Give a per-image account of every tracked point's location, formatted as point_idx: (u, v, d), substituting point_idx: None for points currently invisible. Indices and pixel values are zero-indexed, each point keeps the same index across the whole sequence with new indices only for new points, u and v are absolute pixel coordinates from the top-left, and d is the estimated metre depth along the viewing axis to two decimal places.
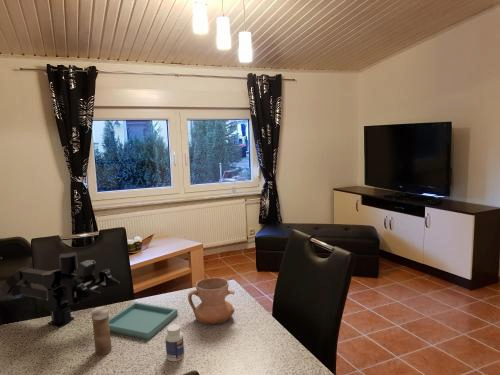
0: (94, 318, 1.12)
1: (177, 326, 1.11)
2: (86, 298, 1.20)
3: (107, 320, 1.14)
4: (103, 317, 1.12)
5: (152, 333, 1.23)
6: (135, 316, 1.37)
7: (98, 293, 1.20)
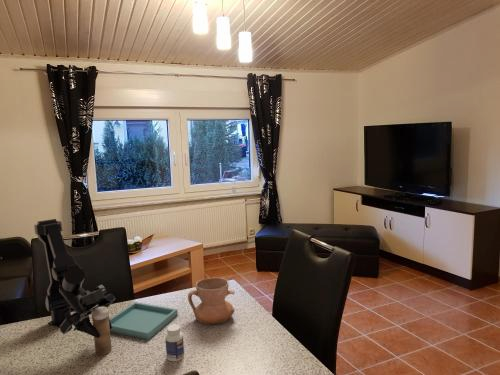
0: (94, 318, 1.12)
1: (177, 326, 1.11)
2: (84, 331, 1.12)
3: (107, 320, 1.14)
4: (103, 317, 1.12)
5: (152, 333, 1.23)
6: (135, 316, 1.37)
7: (98, 336, 1.12)
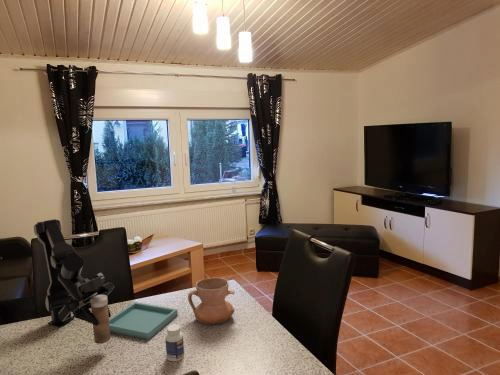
0: (93, 306, 1.11)
1: (177, 326, 1.11)
2: (82, 318, 1.11)
3: (106, 308, 1.13)
4: (102, 304, 1.11)
5: (152, 333, 1.23)
6: (135, 316, 1.37)
7: (96, 323, 1.11)
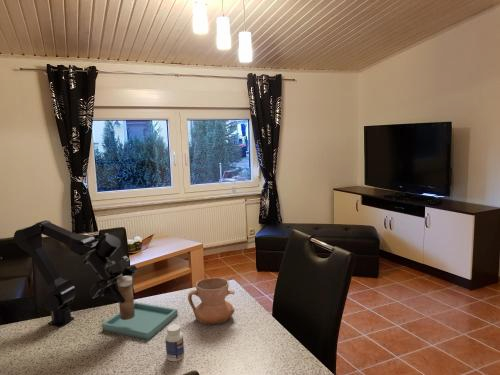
0: (120, 285, 1.22)
1: (177, 326, 1.11)
2: (110, 296, 1.22)
3: (131, 287, 1.24)
4: (127, 284, 1.22)
5: (152, 333, 1.23)
6: (135, 316, 1.37)
7: (123, 301, 1.22)
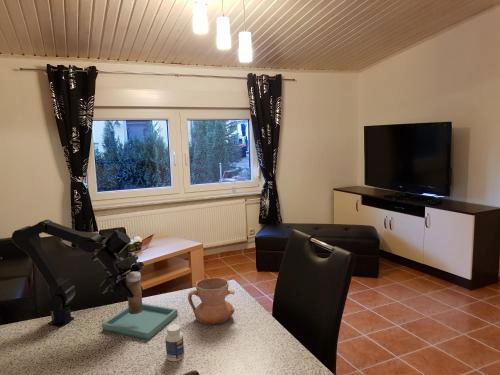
0: (129, 280, 1.26)
1: (177, 326, 1.11)
2: (119, 291, 1.26)
3: (140, 283, 1.28)
4: (136, 279, 1.27)
5: (152, 333, 1.23)
6: (135, 316, 1.37)
7: (132, 296, 1.26)
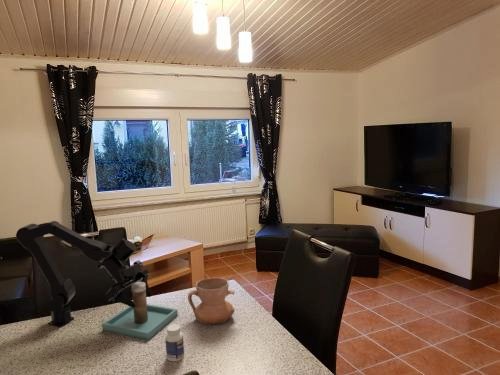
0: (134, 291, 1.29)
1: (177, 326, 1.11)
2: (121, 301, 1.27)
3: (145, 293, 1.31)
4: (141, 290, 1.29)
5: (152, 333, 1.23)
6: None
7: (133, 306, 1.27)
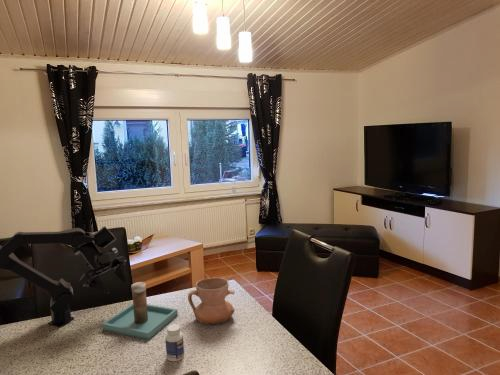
0: (134, 291, 1.29)
1: (177, 326, 1.11)
2: (95, 287, 1.31)
3: (145, 293, 1.31)
4: (141, 290, 1.29)
5: (152, 333, 1.23)
6: None
7: (107, 292, 1.30)
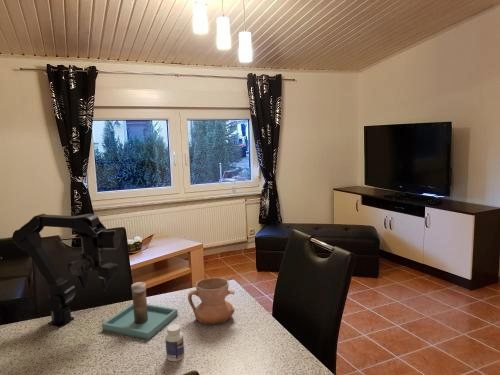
0: (134, 291, 1.29)
1: (177, 326, 1.11)
2: None
3: (145, 293, 1.31)
4: (141, 290, 1.29)
5: (152, 333, 1.23)
6: None
7: None
